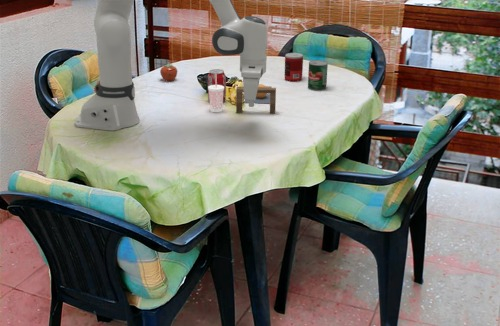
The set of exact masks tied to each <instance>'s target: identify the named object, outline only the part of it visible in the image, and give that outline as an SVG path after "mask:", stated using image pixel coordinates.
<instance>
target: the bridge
mask: <svg viewBox="0 0 500 326" xmlns="http://www.w3.org/2000/svg"><path fill="white" fill-rule="evenodd" d="M235 90H236V91H235V94H236V95H235V98H236V99H235V100H236V101H235V103H236V106H235V107H236V108H235V110H236V112H235V113H238V114H242V113H243V103H242V101H243V93H244V88H243V86H236V89H235ZM276 92H277V87H272V88H269V87H258V90H257V93H267V94H270V104H269V114H272V115H276V102H277V101H276V99H277V98H276V97H277V93H276Z"/></svg>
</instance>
